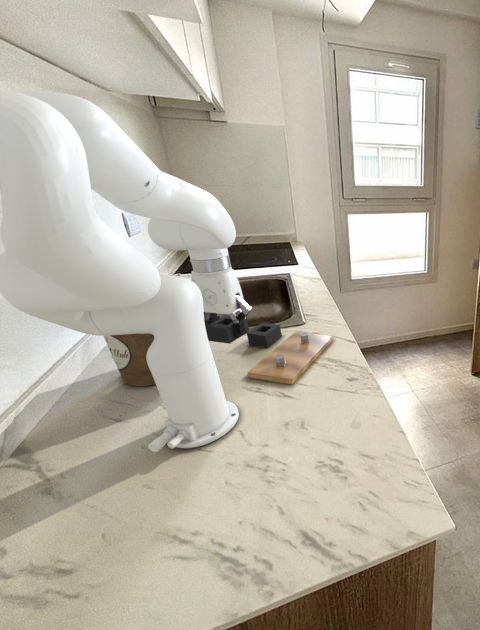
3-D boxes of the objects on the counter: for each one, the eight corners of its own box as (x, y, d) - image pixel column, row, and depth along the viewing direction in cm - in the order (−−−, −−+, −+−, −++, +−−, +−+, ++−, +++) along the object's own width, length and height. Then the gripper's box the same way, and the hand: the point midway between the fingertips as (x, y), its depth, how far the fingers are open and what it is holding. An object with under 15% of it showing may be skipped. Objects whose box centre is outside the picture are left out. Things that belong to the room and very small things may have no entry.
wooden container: (124, 365, 86) (89, 285, 76) (191, 347, 94) (167, 273, 84) (121, 395, 75) (80, 306, 65) (198, 372, 83) (171, 291, 74)
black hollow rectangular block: (229, 343, 79) (226, 328, 78) (208, 341, 80) (204, 326, 79) (249, 331, 86) (246, 317, 84) (229, 328, 87) (225, 314, 85)
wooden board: (292, 384, 80) (289, 370, 78) (248, 377, 82) (245, 364, 80) (332, 340, 99) (331, 328, 97) (296, 335, 101) (294, 324, 99)
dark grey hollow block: (267, 348, 94) (265, 335, 93) (249, 345, 95) (246, 333, 94) (282, 336, 101) (279, 324, 99) (264, 334, 102) (262, 322, 100)
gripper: (165, 266, 74) (187, 337, 81) (232, 271, 71) (249, 345, 78) (193, 258, 81) (211, 324, 88) (255, 262, 77) (269, 331, 85)
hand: (229, 333), depth 83 cm, fingers closed on black hollow rectangular block, 6 cm apart
